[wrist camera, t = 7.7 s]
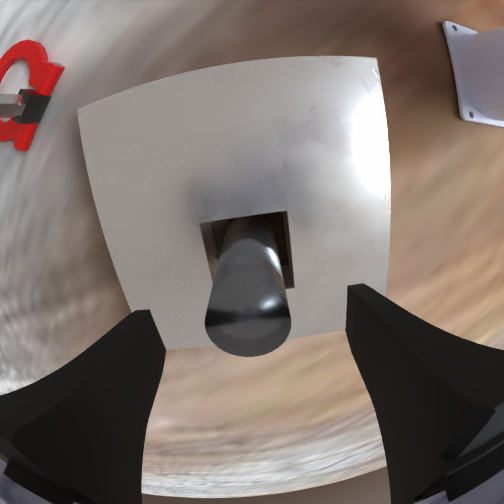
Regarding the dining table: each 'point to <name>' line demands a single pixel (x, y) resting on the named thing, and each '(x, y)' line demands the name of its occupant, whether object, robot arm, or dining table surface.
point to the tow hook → (27, 93)
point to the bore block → (244, 183)
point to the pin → (248, 291)
